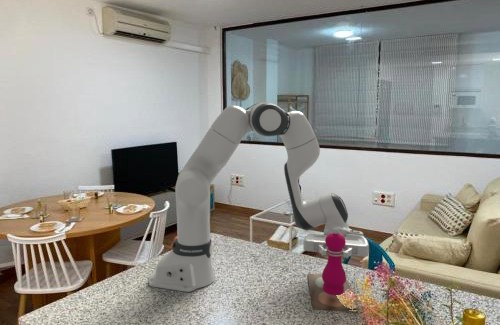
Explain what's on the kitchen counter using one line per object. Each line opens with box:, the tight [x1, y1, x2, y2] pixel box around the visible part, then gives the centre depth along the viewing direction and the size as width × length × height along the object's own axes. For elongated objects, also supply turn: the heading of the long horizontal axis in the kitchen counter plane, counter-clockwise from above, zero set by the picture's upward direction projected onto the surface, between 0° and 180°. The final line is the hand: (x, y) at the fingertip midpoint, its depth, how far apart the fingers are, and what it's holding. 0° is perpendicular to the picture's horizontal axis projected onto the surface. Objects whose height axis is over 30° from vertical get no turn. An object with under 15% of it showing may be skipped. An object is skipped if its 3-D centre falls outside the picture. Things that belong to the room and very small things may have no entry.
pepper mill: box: [322, 228, 347, 295], centre depth 113 cm, size 7×7×20 cm
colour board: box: [306, 273, 358, 312], centre depth 121 cm, size 13×22×1 cm, turn 175°
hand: (334, 254), depth 112 cm, fingers closed on pepper mill, 5 cm apart
